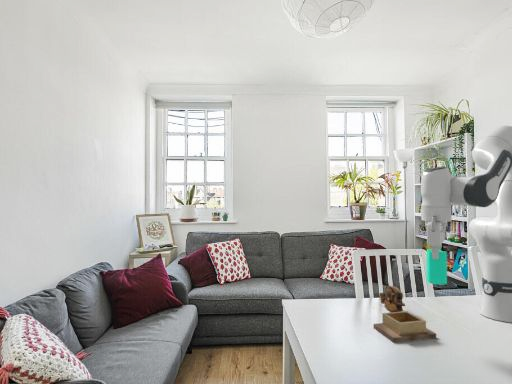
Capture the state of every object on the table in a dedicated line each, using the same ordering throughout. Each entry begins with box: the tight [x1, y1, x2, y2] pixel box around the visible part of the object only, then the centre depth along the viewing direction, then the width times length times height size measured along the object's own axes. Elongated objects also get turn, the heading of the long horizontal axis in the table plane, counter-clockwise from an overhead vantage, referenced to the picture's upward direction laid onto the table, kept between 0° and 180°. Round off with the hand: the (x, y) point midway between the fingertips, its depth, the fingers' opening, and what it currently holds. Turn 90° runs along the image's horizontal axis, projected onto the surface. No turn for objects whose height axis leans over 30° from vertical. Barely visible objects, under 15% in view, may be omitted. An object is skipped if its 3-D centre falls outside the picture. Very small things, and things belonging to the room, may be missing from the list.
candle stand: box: [373, 310, 437, 344], centre depth 112 cm, size 16×12×6 cm
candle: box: [426, 248, 448, 286], centre depth 107 cm, size 6×6×12 cm
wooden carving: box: [379, 285, 406, 312], centre depth 135 cm, size 16×5×10 cm, turn 11°
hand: (436, 257), depth 107 cm, fingers closed on candle, 5 cm apart
